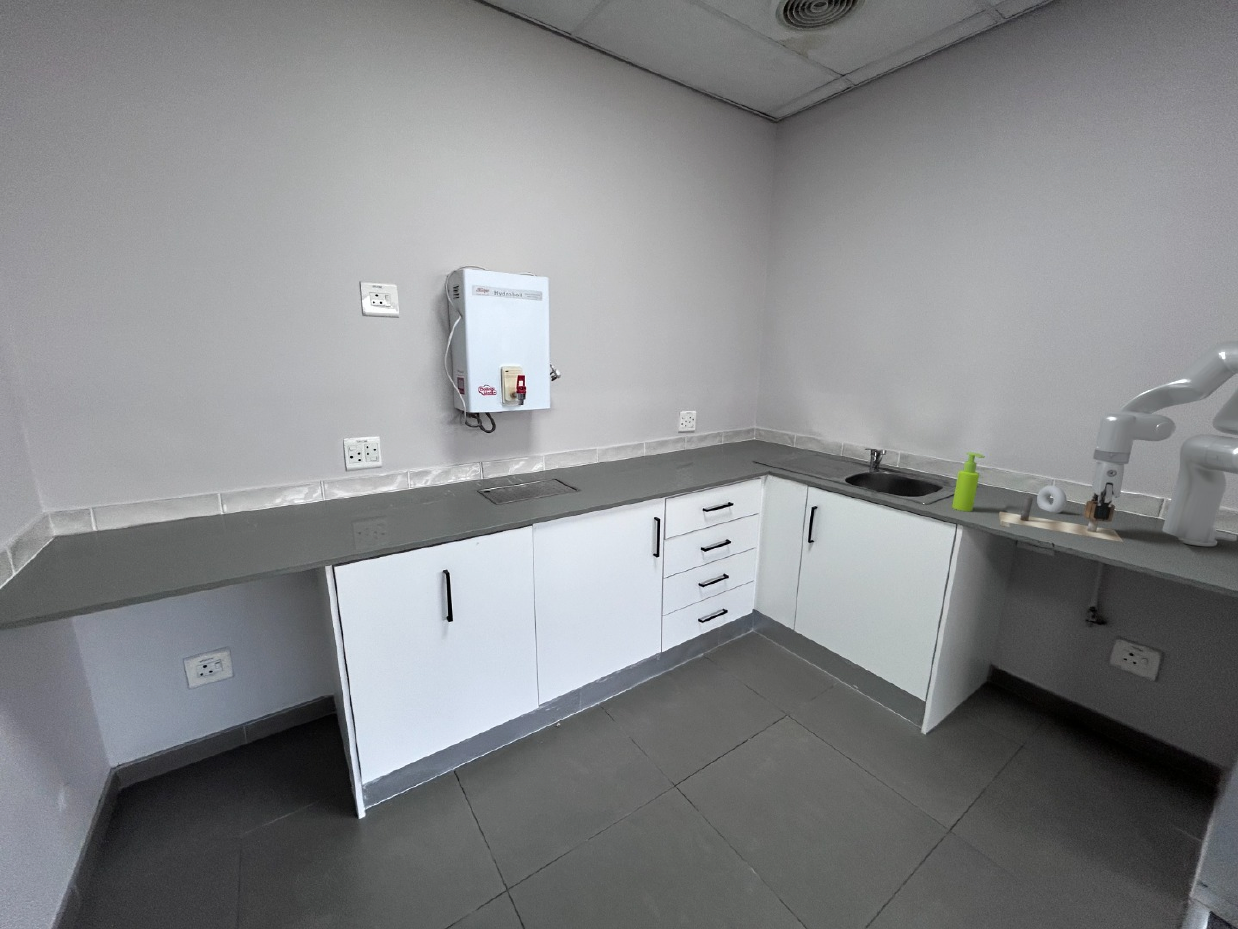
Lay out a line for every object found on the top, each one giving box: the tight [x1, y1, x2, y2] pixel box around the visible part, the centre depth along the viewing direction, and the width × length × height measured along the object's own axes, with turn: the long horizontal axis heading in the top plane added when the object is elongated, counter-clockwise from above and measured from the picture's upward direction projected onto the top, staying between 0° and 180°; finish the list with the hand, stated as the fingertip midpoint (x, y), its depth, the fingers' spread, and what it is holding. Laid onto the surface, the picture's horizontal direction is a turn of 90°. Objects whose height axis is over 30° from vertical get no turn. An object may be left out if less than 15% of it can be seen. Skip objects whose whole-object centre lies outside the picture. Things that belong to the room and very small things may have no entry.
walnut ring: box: [1083, 500, 1116, 523], centre depth 148 cm, size 6×6×4 cm
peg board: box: [998, 495, 1124, 543], centre depth 153 cm, size 28×12×10 cm, turn 55°
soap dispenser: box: [951, 452, 985, 512], centre depth 171 cm, size 6×7×20 cm
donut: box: [1036, 484, 1067, 514], centre depth 169 cm, size 10×4×10 cm, turn 179°
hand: (1098, 515), depth 149 cm, fingers closed on walnut ring, 6 cm apart
